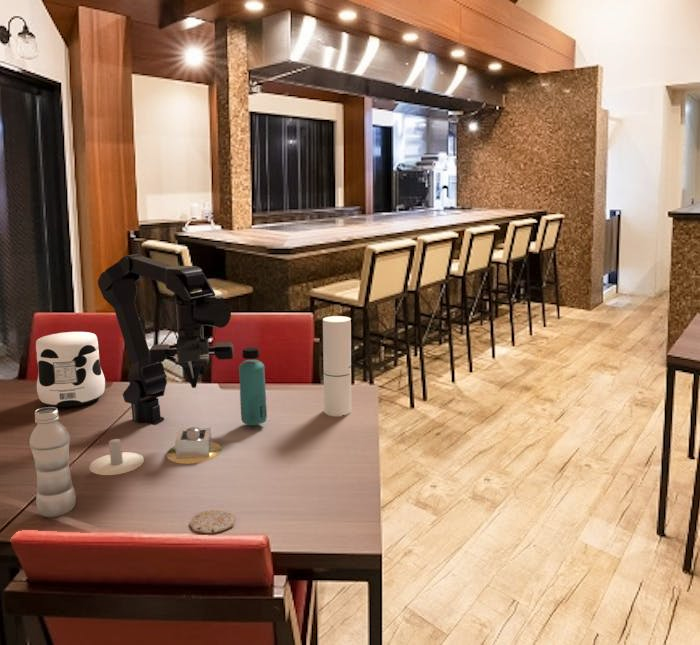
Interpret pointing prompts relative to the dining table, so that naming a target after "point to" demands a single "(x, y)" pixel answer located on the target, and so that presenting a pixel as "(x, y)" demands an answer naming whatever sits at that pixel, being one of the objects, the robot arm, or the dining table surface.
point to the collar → (193, 444)
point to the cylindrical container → (337, 365)
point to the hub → (214, 452)
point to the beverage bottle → (252, 388)
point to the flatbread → (212, 521)
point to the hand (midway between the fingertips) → (194, 387)
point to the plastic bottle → (52, 464)
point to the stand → (116, 461)
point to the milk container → (69, 369)
